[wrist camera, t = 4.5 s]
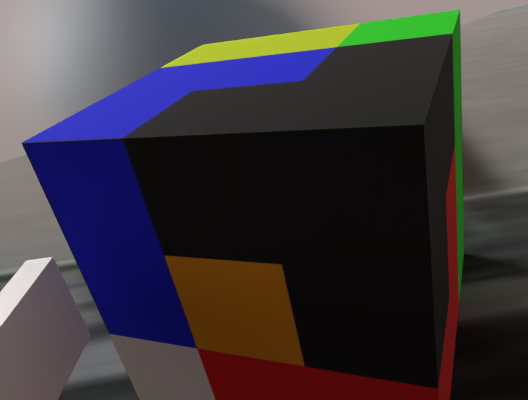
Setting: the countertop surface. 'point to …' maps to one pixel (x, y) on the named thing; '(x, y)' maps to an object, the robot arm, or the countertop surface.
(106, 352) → the countertop surface
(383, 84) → the puzzle toy
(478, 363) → the countertop surface
